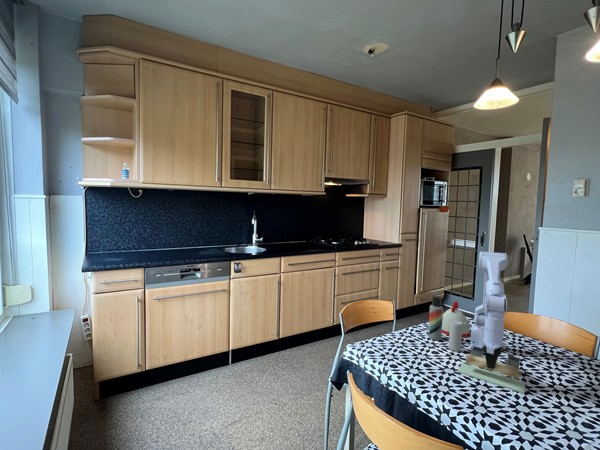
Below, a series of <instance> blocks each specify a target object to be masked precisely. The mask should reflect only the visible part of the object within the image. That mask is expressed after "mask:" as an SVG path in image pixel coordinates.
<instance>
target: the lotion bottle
mask: <svg viewBox="0 0 600 450" xmlns="http://www.w3.org/2000/svg"><path fill="white" fill-rule="evenodd" d="M431 302H432V303H431V304H430V305H429V318H428V334H427V335H428V339H430V340H433V341H441V340H442V335H443V333H442V320H443V314H444V307H443V306H442V297H441V296H437V295H433V296H432V301H431Z"/></svg>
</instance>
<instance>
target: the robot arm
mask: <svg viewBox="0 0 600 450" xmlns="http://www.w3.org/2000/svg"><path fill="white" fill-rule="evenodd" d="M508 257H509V256H508V254H507V253H506V252H492V251H480V252H479V253H478V268H479V269H482V270H483V272H484V280H483V295H482V296H483V297H482V298H483V299H482V304H480V305H479V306H476V307H475V310H474V317H473V318H474V320H473V321H474V324H472V326H471V330H470V345H469V346H470V347H472V348H473V346H476V347H480V348H482V350H483V355H484V358H485V359H486V364H487V367H488V368H491V369H494V368H495V365H496V362H498V358H499V357H500V356H501V354H502V350H503V348H506V347H507V343H506V342H504V328H505V314H507V311H508V310H507V309H508V300H507V296H506V294H505V286H504V283H503V282H502V281H501V271H504V270H505V269H507V266H508V261H509V260H508Z"/></svg>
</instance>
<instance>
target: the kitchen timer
mask: <svg viewBox="0 0 600 450" xmlns="http://www.w3.org/2000/svg"><path fill="white" fill-rule="evenodd" d="M451 321H459V322H461V323H462V325H463V327H462V338H468V337H469V336H470V334H471V330H470V320H469V319H467V317H466V316H465V314H464V313H463V312H462V311H461V309H459V302H458V300H457V301H456V300H455V301H454V302H453V305H452V307H451V308H449V309H447V310H446V311H444V312H443V320H442V335H443V334H444V335H446V336H449V333H450V322H451Z"/></svg>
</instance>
